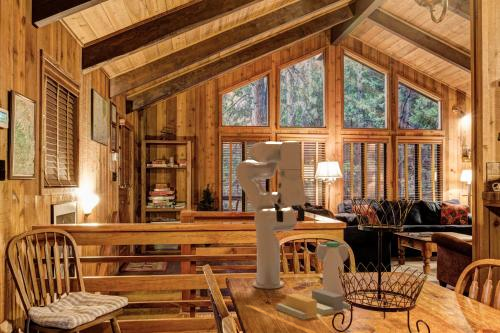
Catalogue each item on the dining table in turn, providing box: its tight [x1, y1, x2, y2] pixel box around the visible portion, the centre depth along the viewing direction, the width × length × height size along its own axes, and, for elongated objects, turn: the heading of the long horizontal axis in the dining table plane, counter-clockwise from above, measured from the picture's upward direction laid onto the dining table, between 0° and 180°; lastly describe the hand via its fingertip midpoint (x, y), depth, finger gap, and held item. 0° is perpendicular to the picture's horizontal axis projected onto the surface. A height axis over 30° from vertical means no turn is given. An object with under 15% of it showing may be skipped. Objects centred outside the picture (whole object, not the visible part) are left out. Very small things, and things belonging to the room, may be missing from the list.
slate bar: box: [311, 288, 344, 311], centre depth 158 cm, size 11×4×4 cm, turn 32°
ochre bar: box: [285, 292, 317, 316], centre depth 152 cm, size 11×4×4 cm, turn 32°
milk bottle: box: [322, 241, 345, 296], centre depth 177 cm, size 8×8×20 cm
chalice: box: [316, 241, 349, 280], centre depth 209 cm, size 14×14×15 cm
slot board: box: [275, 300, 351, 321], centre depth 155 cm, size 14×21×3 cm, turn 122°
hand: (290, 221), depth 173 cm, fingers open, 9 cm apart
